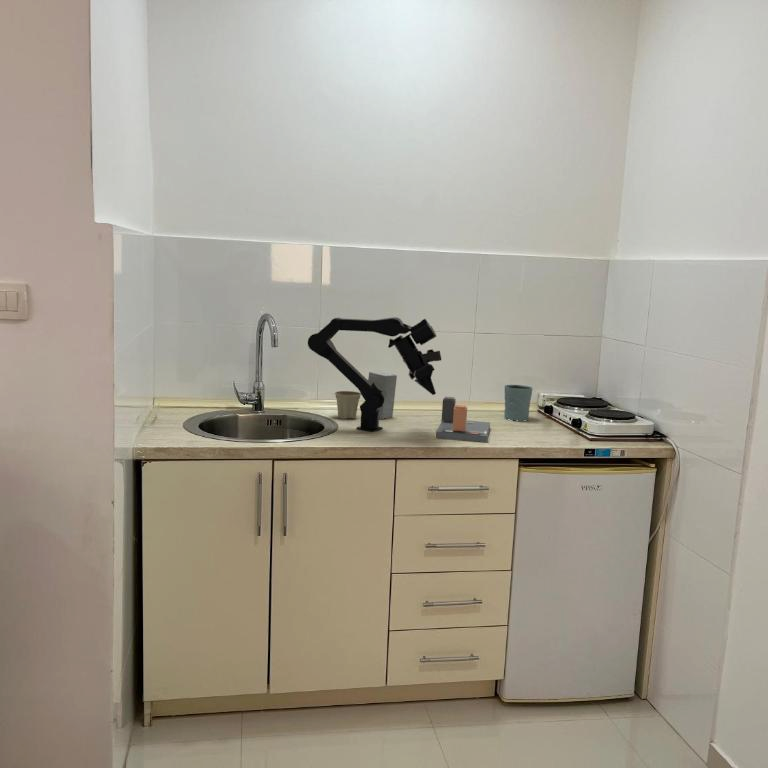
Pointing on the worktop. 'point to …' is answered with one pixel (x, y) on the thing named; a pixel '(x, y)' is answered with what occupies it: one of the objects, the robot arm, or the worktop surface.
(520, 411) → the blue-grey tapered cup
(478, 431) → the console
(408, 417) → the worktop surface
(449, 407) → the switch knob
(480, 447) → the worktop surface
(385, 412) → the grey vase
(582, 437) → the worktop surface
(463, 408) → the switch knob
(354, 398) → the flower pot
